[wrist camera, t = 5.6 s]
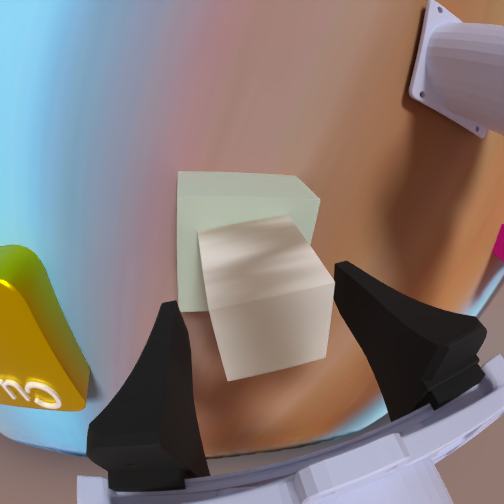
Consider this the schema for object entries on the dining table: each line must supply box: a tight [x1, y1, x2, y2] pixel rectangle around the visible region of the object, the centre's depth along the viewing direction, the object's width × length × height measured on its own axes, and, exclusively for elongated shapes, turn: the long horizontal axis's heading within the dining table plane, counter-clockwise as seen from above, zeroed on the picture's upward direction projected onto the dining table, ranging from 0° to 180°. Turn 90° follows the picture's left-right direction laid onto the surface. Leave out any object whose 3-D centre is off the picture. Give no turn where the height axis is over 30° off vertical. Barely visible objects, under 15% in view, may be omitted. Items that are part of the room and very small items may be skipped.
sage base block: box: [177, 171, 321, 312], centre depth 18 cm, size 7×7×4 cm
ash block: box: [198, 215, 335, 381], centre depth 14 cm, size 4×4×6 cm
